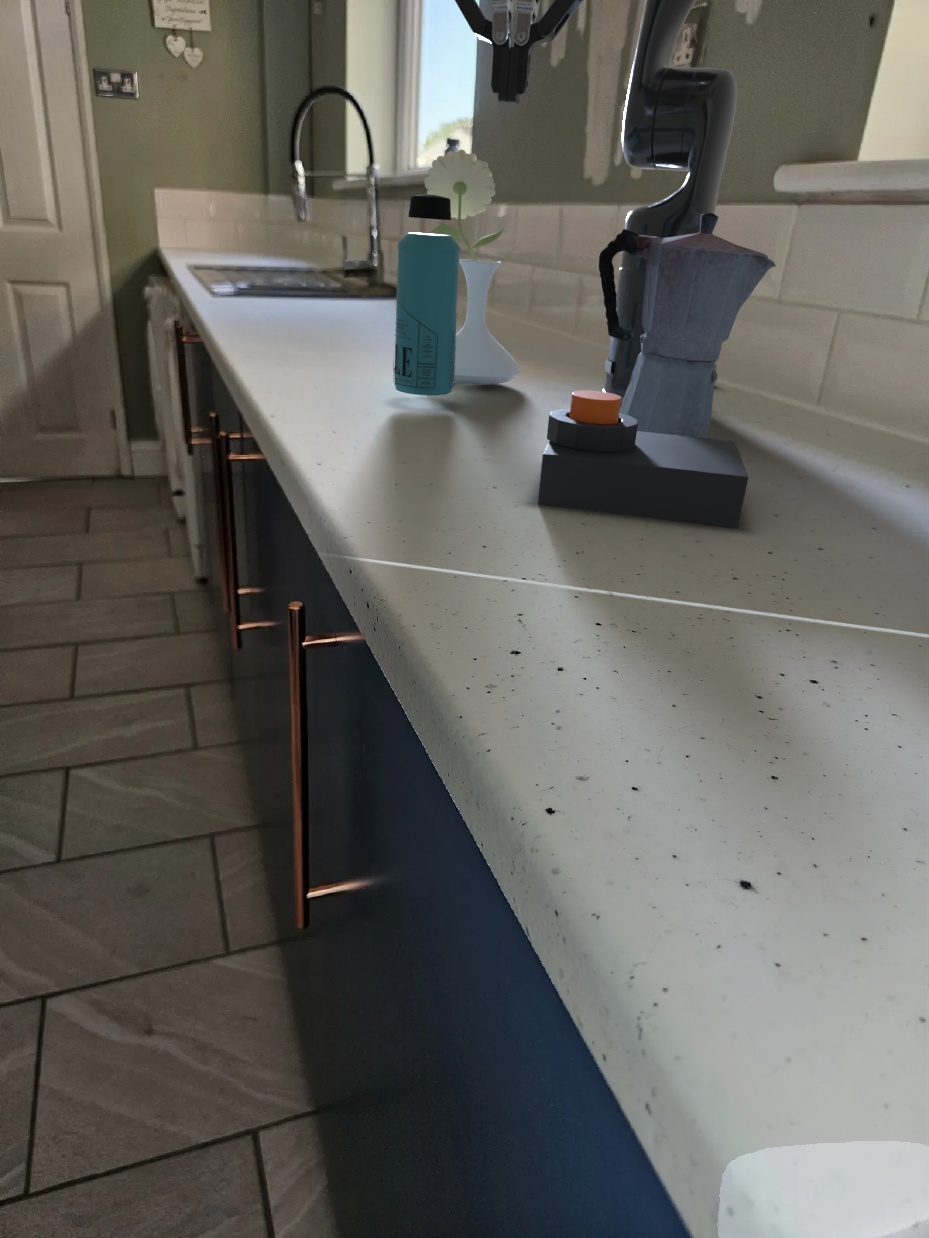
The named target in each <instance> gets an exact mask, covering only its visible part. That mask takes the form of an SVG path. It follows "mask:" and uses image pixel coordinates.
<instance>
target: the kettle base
mask: <svg viewBox="0 0 929 1238" xmlns="http://www.w3.org/2000/svg"><path fill="white" fill-rule="evenodd" d="M570 408H571V407H565V408H559V409H554V410H551V411H550V413H549V415H548V422H547V430H546V431H547V433H546V440H548V443H547V445H546V447H545V449H544V451H543V453H542V458H541V469H540V479H539V485H538V486H539V487H538V496H537V497H538V498H537V505H539V506H546V507H547V506H548V507H556V508H564V509H570V510H571V509H573V510H579V511H589V512H596V513H604V514H605V513H606V514H612V515H613V514H614V515H620V516H621V515H622V516H630V517H639V518H647V519H655V520H661V521H662V520H663V521H672V522H679V523H688V524H695V525H705V526H710V527H711V526H713V527H719V528H720V527H722V528H727V529H739V525H740V520H741V516H742V511H743V507H744V502H745V496H746V493H747V492H746V491H747V486H748V482H749V475H748V472H747V469H746V467H745V465H744V461H743V459H742V456H741V454H740V451H739V449H738V446H737V444H736V443H737V442H736V441H735V440H725V439H717V438H708V439H707V438H698V437H688V436H679V435H670V434H660V433H651V432H641V431H637V427H638V420H637V419H635V418H633V417H631V416H629V415H626V414H621V413H619V419H618V423H615V424H596V423H587V422H581V421H577V420H572V419H570V418H569V417H570Z"/></svg>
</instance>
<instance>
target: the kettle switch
mask: <svg viewBox="0 0 929 1238" xmlns="http://www.w3.org/2000/svg"><path fill="white" fill-rule="evenodd" d="M620 404H621V397H620V396H619V395H616V394H613V393H608V392H603V391H600V390H575V391H573V392H572V393H571V400H570V407H569V408H570V417H569V418H570V419H572V420H577V421H581V422H587V423H596V424H615V423H618V419H619V412H620V408H621V405H620Z"/></svg>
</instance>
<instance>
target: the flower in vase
mask: <svg viewBox="0 0 929 1238" xmlns="http://www.w3.org/2000/svg"><path fill="white" fill-rule="evenodd" d="M431 166H432V167H430V168H429V169H428V170H427V174H428V176H426V177H424V178H423V182H424V188H425V189H426V195H437V196H442V197H445V198H449V199H450V201H451V219H452V218H453V219H456V220H457V226H458V229H456V228H454V227H453V226H451V225H449V224H444V223H442V224H440V225H438V226H436V227H435V228H433V229H432V230H431V231H430V232H429V233H428V234H439V235H450V236H451V237H452V238H453V239H454V240H455V241H456V242H457V241H458V240H459V239H460V238H462V240H463V242H464V244H465V246H466V248H467V250H468V251H469V253H470V255H471V257H472V258H459V266H460V267H461V268H462V272H463V273H464V277H465V284H466V292H467V294H466V295H467V296H466V297H467V303H466V305H467V306H466V307H467V308H466V317H465V320H464V324H463V326H462V328H461V329H460V330H459V331H458V332H457V333H456V338H455V340H457V341H456V342H455V346H456V347H455V348H456V349H455V357H456V358H455V361H456V362H455V364H454V365H456V366H454V370H455V372H454V373H455V374H454V375H455V377H454V378H455V379H454V380H455V381H454V380H453V381H454V383H458V384H464V385H476V386H477V385H480V386H481V385H482V386H483V385H487V386H488V385H496V384H503V383H507V382H509V381H511V380H514V379H516V378H517V377H518V375H519V374H520V368H519V364H518V363H517V362H516V360H515V359H514V357H513V356H512V355H511V354H510V353H509V351H507V350H506V349H505V348H504V347H503V346H502V345H501V344H500V343H499V342H498V341H497V339H496V338H495V337H494V336H493V335H492V334H491V332H490V330H489V328H488V325H487V319H486V318H487V317H486V316H487V302H488V297H489V296H488V295H489V289H490V286H491V282H492V280H493V277H494V275H495V274H496V271H497V270H498V268H500V266H501V264H502V262H501V261H497V260H491V259H477V257H476V254H475V252H474V250H473V249H475V248H479V247H483V246H485V245H488V244H491V243H493V242H494V241H495V240H497V239H498V238H499V237H500V236H501V235H502V233H503V231H504V230H505V227H502V228H501V229H500V230H498V231H496V232H494V233H492V234H488V235H485V236H482V237H480V238H479V239H478V240H477V241H476V242H475V243H474V244H473V245H472V246H471V245H470V243H469V242H468V240H467V236H465V234H464V231H463V228H462V220H465V219H467V217H469V218H470V217H471V218H473V217H476V215H480V214H481V213H486V212H487V210H488V206H487V205H489V204H492V201H493V200H492V197H495V195H496V193H497V192H496V189H495V188H496V183H495V182H494V181H495V180H494V178H493V172H492V171H491V169H490V168H489V166H490V165H489V163H488V162H487V161H483V160H481V159H478V156H477V154H476V153H473V152H472V153H467V152H466V150H464V149H458V151H455V152H454V151H453V150H451V151H450V150H449V151H448V152H447V153H446V154H444V155H438V156H437V157H436V159H434V160H432V161H431ZM455 368H456V369H455Z"/></svg>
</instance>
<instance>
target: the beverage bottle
mask: <svg viewBox="0 0 929 1238" xmlns="http://www.w3.org/2000/svg"><path fill="white" fill-rule="evenodd" d="M408 218H414V219H426V220H428V219H429V220H441V221H451V220H452V217H451V201H450V199H449V198H445V197H442V196H437V195H427V194H416V195H414V194H413V195H411V196H410V200H409V208H408ZM396 245H397V246H396V247H397V280H396V283H395V284H396V290H394V291H395V293H396V295H395V296H394V298H395V299H396V300H395V301H394V303H395V306H396V307H395V322H394V324H395V330H394V332H395V334H394V336H395V341H394V361H393V366H392V367H393V368H392V370H393V380H392V382H393V383H394V386H395V390H396V391H398V392H401V393H404V394H409V395H417V396H431V397H432V396H446V395H449V394H451V393H452V391H453V388H454V386H455V385H456V384H455V383H456V382H454V381H455V380H454V379H455V378H454V377H455V375H454V374H455V373H454V372H455V370H454V366H456V365H454V364H455V362H456V361H455V358H456V357H455V349H456V348H455V347H456V346H455V342H456V341H457V340H455V338H456V334H457V327H458V324H459V323H457V319H459V317H458V314H457V308H458V307H457V306H458V290H459V289H458V288H459V269H460V263H459V259H460V253H461V247H460V245H459V244H458V242H457V241H455V240H454V239H453V238H452V237H451V236H450V235H439V234H429V233H425V232H424V233H423V232H407V233H406V234H405V235H404V236H403V237H402V238H401V239H400V240H399V242H398V243H397V244H396ZM455 369H456V368H455ZM453 380H454V381H453Z"/></svg>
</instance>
